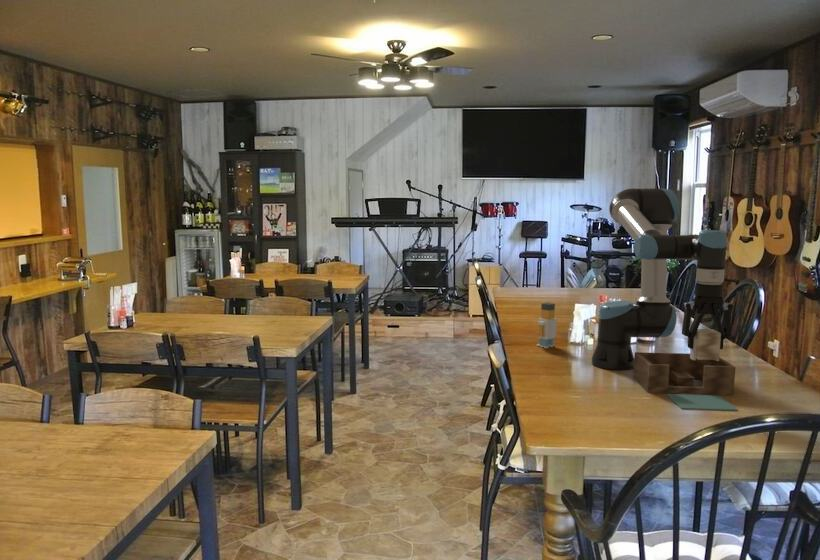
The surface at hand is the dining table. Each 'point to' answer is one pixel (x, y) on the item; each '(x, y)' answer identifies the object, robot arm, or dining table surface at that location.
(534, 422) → the dining table surface
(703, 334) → the block
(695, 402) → the mat
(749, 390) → the dining table surface
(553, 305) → the character figure
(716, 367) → the crate
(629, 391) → the dining table surface
